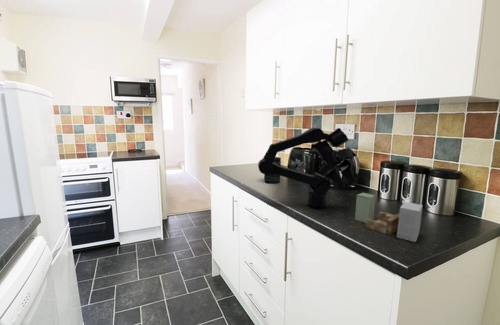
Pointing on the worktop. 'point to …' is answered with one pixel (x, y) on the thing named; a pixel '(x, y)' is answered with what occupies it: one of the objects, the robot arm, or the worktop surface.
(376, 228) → the wooden stepped block
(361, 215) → the green rectangular block
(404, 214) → the small box
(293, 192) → the worktop surface
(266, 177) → the storage jar
